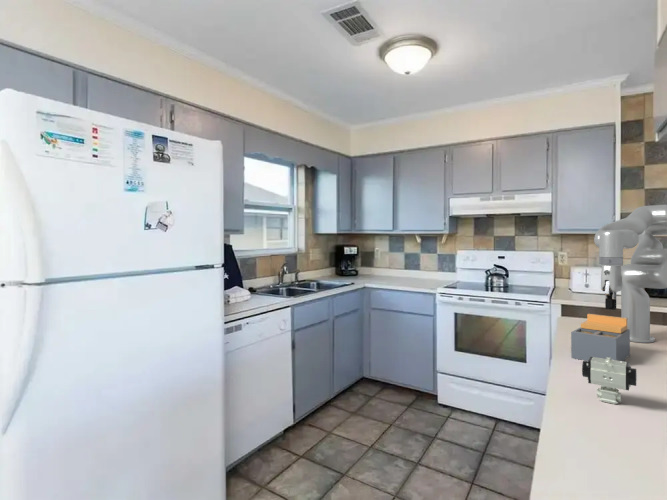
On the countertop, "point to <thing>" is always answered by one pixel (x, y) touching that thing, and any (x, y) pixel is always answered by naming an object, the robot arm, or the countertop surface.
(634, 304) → the robot arm
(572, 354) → the housing
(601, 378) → the pneumatic valve
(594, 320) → the cover
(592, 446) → the countertop surface
